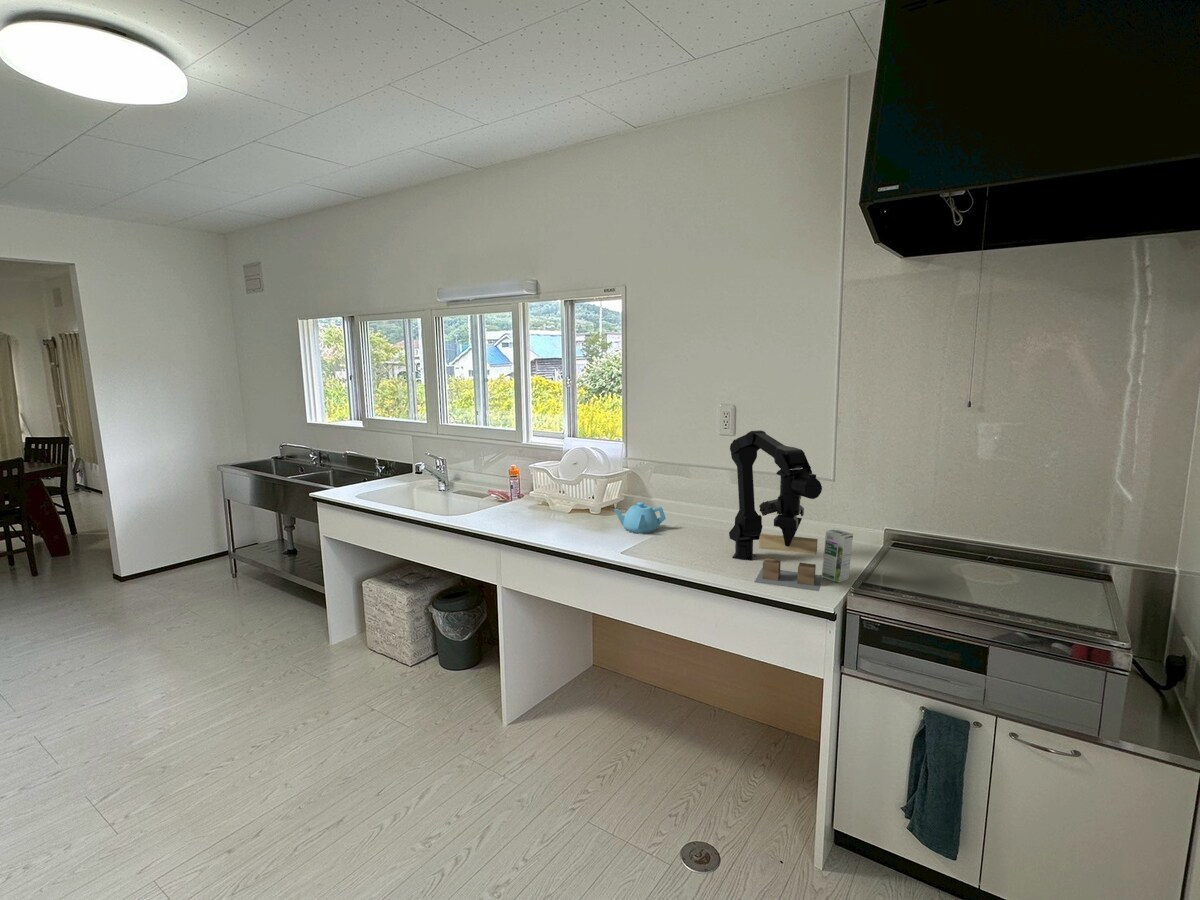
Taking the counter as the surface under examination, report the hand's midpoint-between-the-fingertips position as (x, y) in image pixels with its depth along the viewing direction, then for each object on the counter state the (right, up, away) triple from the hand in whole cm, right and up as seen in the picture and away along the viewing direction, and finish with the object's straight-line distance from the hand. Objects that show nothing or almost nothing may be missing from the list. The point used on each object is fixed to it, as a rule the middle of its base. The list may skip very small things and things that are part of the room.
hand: (788, 544), depth 180 cm
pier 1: (-4, -11, +3) cm, 12 cm away
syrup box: (+15, -11, +3) cm, 19 cm away
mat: (+1, -11, +2) cm, 11 cm away
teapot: (-40, -4, +59) cm, 71 cm away
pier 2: (+5, -11, -1) cm, 12 cm away
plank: (0, -2, 0) cm, 2 cm away
